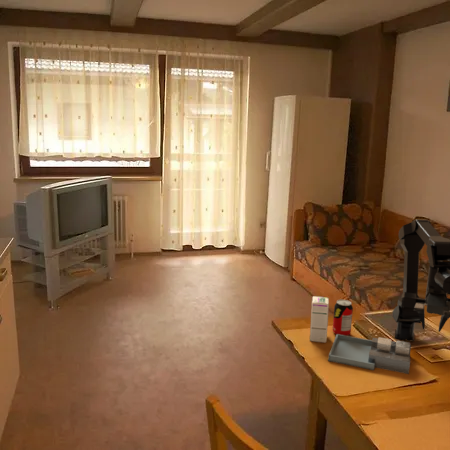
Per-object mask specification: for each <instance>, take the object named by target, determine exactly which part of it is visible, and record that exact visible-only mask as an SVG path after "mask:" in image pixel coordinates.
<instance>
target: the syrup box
mask: <svg viewBox="0 0 450 450" xmlns="http://www.w3.org/2000/svg"><path fill="white" fill-rule="evenodd" d="M329 299H330V298H329V297H326V296H325V297H324V296H314V295H313V296H312V299H311V311H310V327H309V328H310V331H309V341H311V342H316V343H323V344H324V343H327V339H328V338H327V337H328V326H329V304H330V302H329Z"/></svg>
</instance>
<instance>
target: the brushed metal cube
mask: <svg viewBox="0 0 450 450" xmlns="http://www.w3.org/2000/svg"><path fill="white" fill-rule="evenodd" d="M377 339H378V343H377V351H378V352H383V353H388V354H390V349H391V341H393V340H392V338H391V339H390V338H386V337H380V336H379V337H378V338H377Z"/></svg>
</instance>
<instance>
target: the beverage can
mask: <svg viewBox="0 0 450 450" xmlns="http://www.w3.org/2000/svg"><path fill="white" fill-rule="evenodd" d="M333 307H334V308H333V320H332V321H333V322H332V332H333V333H334V334H335V335H336V334H340V335H346V336H350V334H351V332H352V324H353V323H352V321H353V311H354V310H353V309H354V307H353V305H352V302H351V301H350V300H347V299H341V298H340V299H337V300H336V303H335V304H334V306H333Z"/></svg>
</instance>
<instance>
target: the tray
mask: <svg viewBox="0 0 450 450" xmlns="http://www.w3.org/2000/svg"><path fill="white" fill-rule="evenodd" d="M371 344H372V340H371V339H366V338H361V337H355V336H350V335H347V336H346V335H340V334H335V338H334V340H333V343H332V346H331V349H330V351H329V353H328V357H327V358H328V360H327V361H328V362H332V363H336V364H340V365H341V364H342V365H345V366H346V365H347V366H351V367H356V368H360V369H361V368H362V369H366V370H371V371H375V368H376V367H375V366H374V365H375V364H374V363H369V362H368V359H369V352H370V350H371Z"/></svg>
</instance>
